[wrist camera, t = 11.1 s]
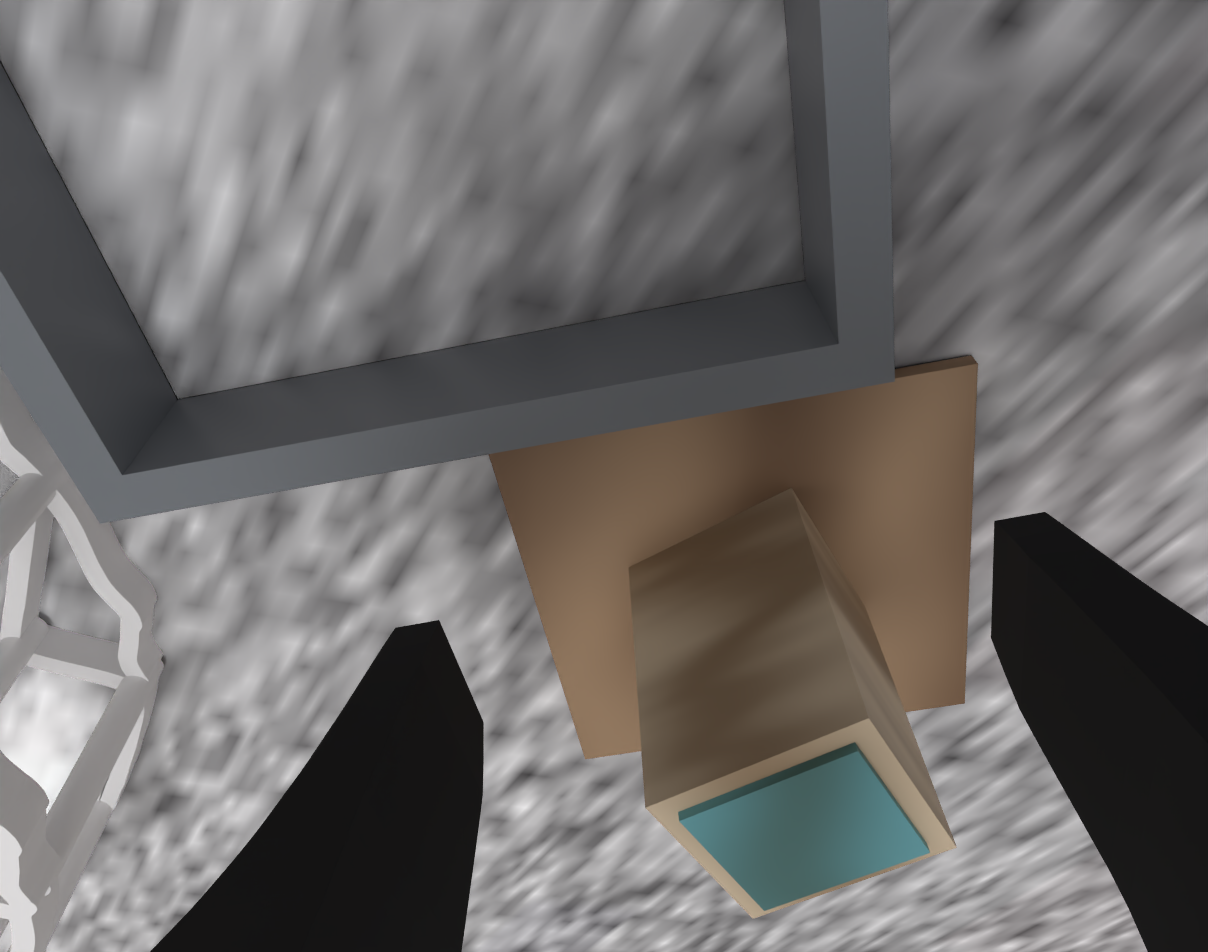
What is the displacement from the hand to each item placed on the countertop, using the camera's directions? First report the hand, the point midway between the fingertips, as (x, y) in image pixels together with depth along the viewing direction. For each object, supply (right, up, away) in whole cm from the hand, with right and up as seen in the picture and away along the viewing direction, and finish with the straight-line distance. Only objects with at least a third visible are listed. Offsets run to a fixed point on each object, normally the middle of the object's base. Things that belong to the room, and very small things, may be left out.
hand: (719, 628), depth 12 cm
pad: (+2, -1, +12) cm, 12 cm away
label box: (+2, -1, +11) cm, 12 cm away
